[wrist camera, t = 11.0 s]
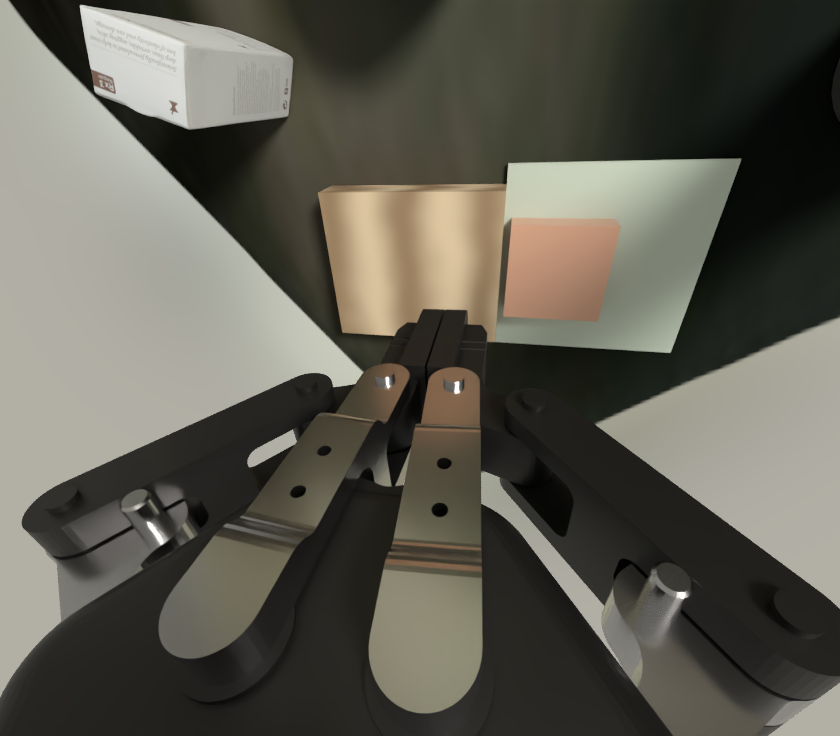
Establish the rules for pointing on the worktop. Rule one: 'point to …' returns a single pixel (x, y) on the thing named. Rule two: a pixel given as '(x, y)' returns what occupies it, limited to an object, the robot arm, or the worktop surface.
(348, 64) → the worktop surface
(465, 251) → the oak board
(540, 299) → the terracotta coaster
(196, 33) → the skincare box
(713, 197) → the sage mat
